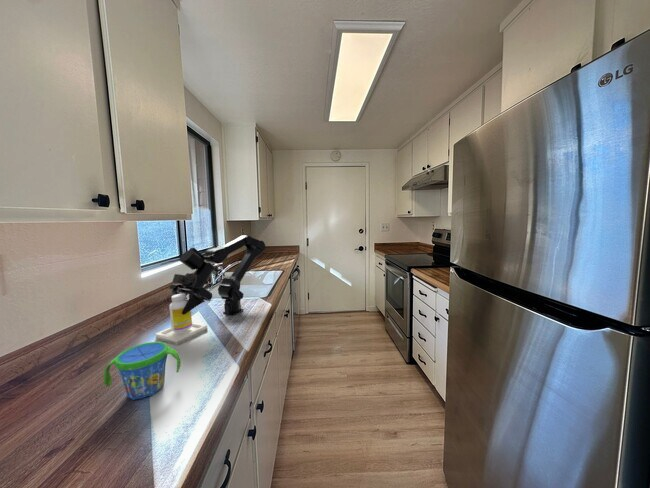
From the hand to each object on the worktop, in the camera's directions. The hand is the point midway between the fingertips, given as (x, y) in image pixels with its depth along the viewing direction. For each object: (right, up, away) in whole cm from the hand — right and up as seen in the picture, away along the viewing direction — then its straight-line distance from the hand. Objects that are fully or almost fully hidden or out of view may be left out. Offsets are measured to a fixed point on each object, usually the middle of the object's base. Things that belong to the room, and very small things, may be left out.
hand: (176, 312), depth 91 cm
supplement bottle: (+1, -7, +2) cm, 7 cm away
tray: (+1, -9, +2) cm, 9 cm away
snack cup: (+9, -12, -29) cm, 32 cm away
